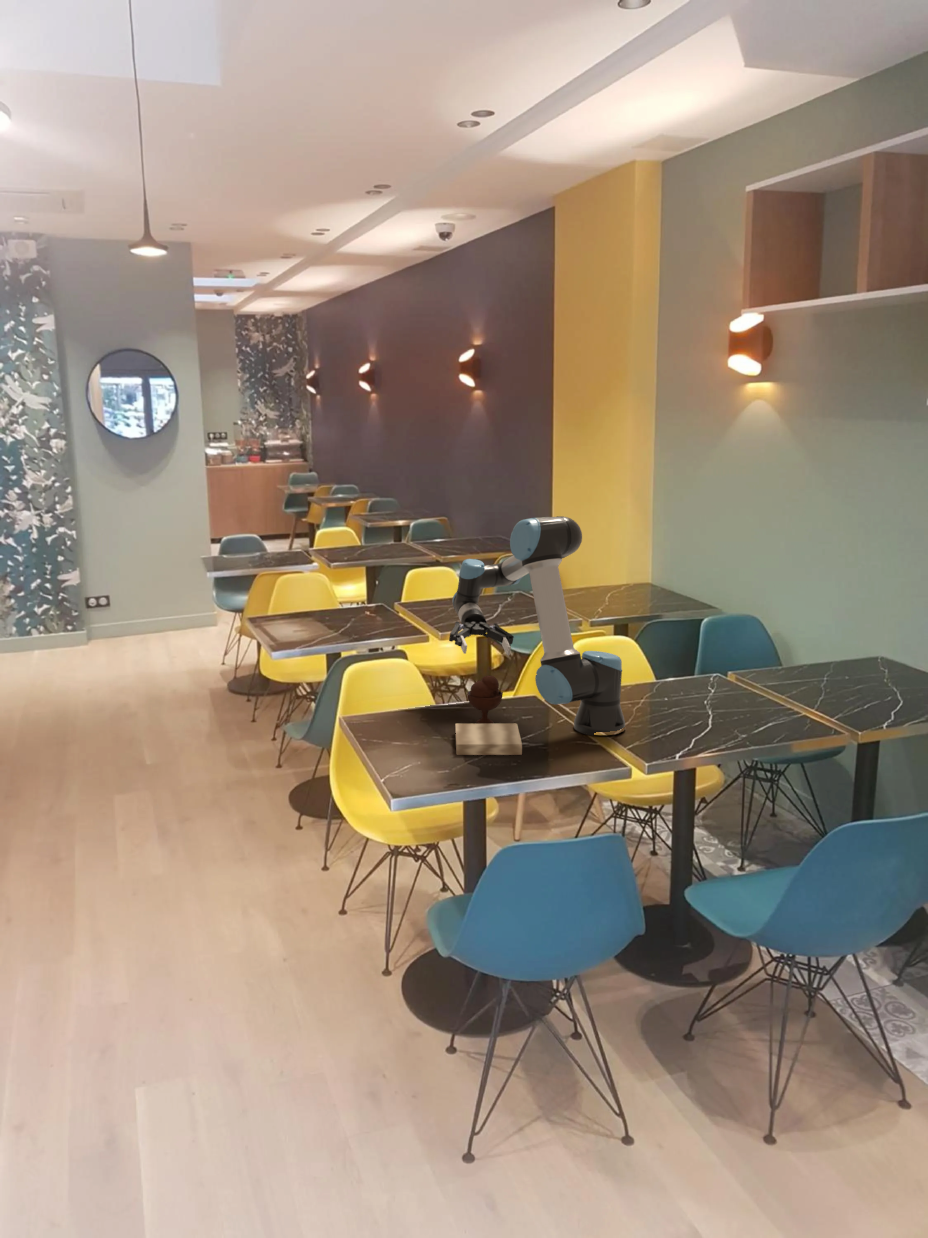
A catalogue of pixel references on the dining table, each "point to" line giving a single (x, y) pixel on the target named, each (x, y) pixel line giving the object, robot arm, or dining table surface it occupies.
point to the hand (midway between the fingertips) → (487, 650)
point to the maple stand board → (488, 739)
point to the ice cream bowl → (485, 697)
